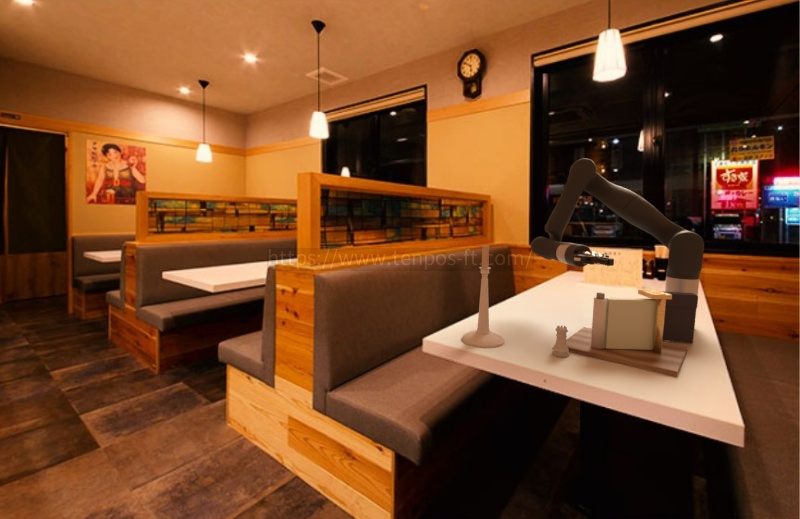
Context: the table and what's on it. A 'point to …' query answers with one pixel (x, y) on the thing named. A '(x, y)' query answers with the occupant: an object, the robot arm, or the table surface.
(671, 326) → the dark brown flat block
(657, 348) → the plate
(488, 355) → the table surface
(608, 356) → the board
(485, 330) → the candlestick
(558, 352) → the rook chess piece
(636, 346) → the hinge
